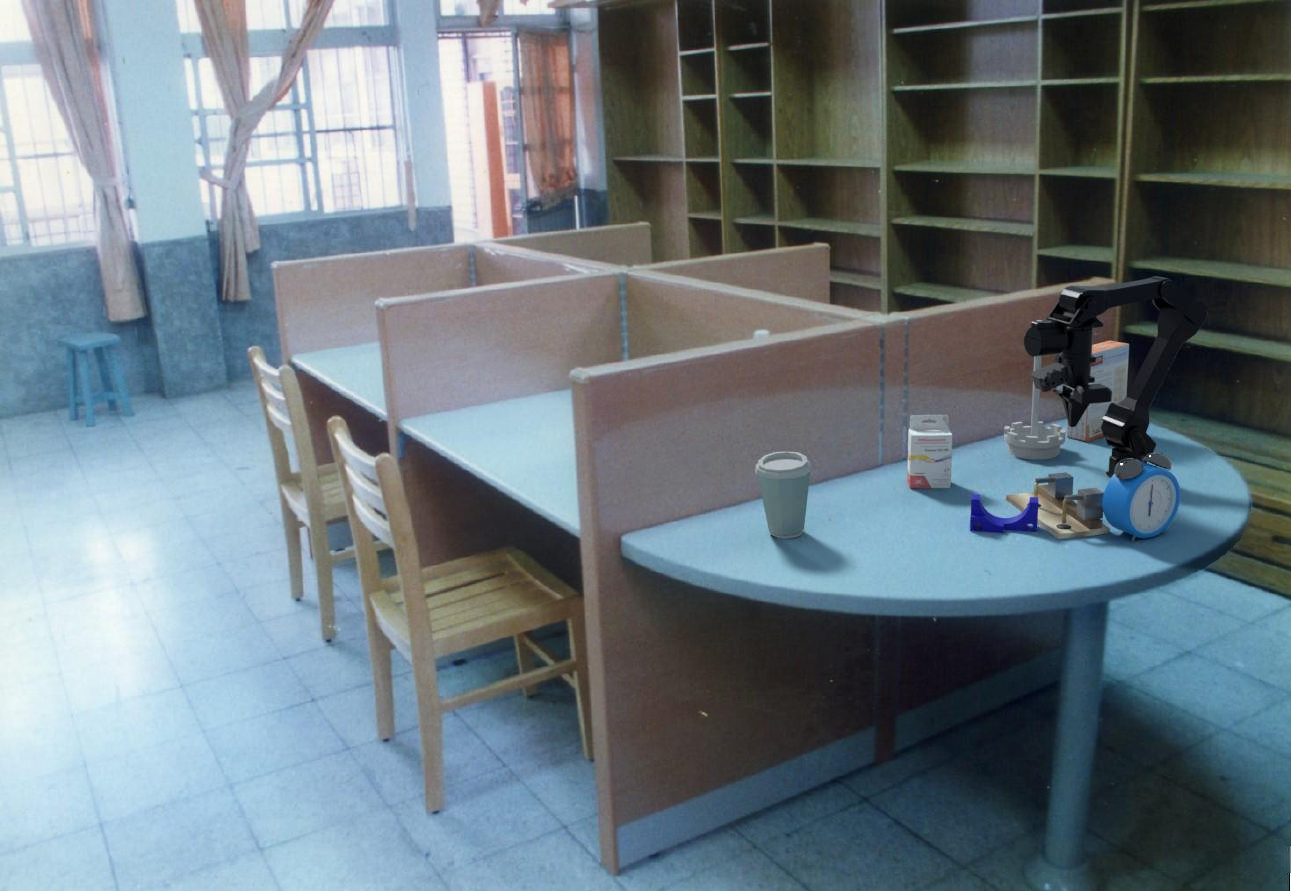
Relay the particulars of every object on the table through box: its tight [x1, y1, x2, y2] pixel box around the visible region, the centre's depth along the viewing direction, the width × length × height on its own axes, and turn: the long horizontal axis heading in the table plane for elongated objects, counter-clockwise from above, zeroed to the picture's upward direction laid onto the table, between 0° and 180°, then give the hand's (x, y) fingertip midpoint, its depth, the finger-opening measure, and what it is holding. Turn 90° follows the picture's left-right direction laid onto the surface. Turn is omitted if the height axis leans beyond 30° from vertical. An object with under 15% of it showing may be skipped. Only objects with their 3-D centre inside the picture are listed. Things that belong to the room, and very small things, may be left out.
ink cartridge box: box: [906, 414, 953, 489], centre depth 246 cm, size 9×5×15 cm, turn 84°
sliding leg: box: [1033, 471, 1074, 498], centre depth 230 cm, size 7×3×5 cm, turn 98°
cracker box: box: [1066, 340, 1130, 443], centre depth 272 cm, size 14×6×21 cm, turn 123°
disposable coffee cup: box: [754, 450, 813, 540], centre depth 225 cm, size 11×11×15 cm
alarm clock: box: [1103, 452, 1181, 542], centre depth 215 cm, size 13×6×15 cm, turn 113°
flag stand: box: [1003, 319, 1067, 461], centre depth 261 cm, size 13×13×30 cm
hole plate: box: [1005, 484, 1111, 540], centre depth 227 cm, size 10×22×8 cm, turn 8°
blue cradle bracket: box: [969, 493, 1038, 534], centre depth 222 cm, size 12×4×6 cm, turn 73°
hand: (1072, 426), depth 238 cm, fingers closed
